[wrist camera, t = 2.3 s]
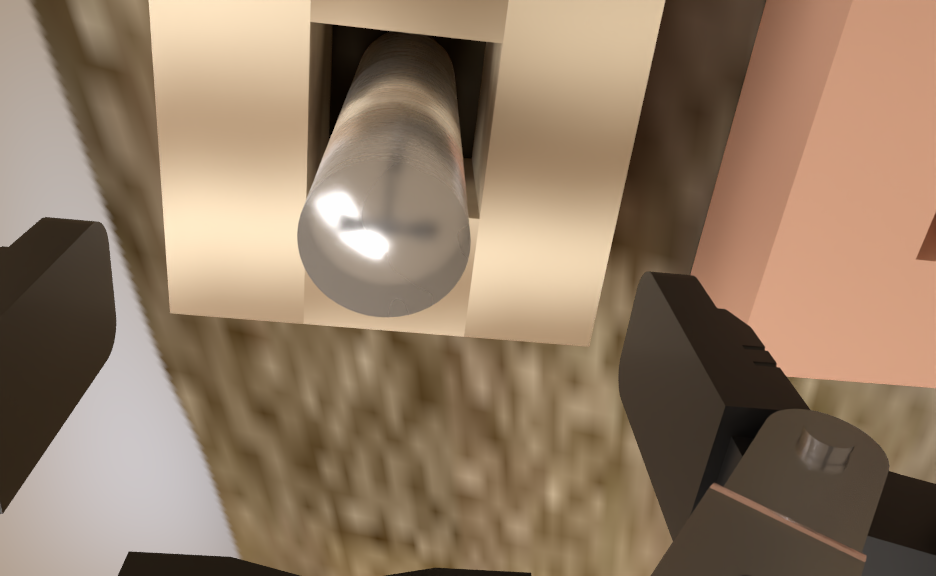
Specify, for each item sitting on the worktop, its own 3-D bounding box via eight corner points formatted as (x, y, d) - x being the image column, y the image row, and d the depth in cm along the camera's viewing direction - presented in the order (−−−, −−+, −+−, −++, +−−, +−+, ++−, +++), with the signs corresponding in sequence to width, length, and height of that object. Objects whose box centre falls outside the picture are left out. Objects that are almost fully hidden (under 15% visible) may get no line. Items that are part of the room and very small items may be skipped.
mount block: (199, -170, 21) (136, -181, 17) (637, -112, 22) (689, -108, 18) (214, 239, 26) (169, 312, 22) (564, 270, 28) (589, 346, 23)
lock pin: (360, 24, 23) (298, 151, 13) (460, 35, 24) (480, 169, 13) (355, 122, 25) (295, 310, 14) (449, 132, 25) (460, 323, 14)
